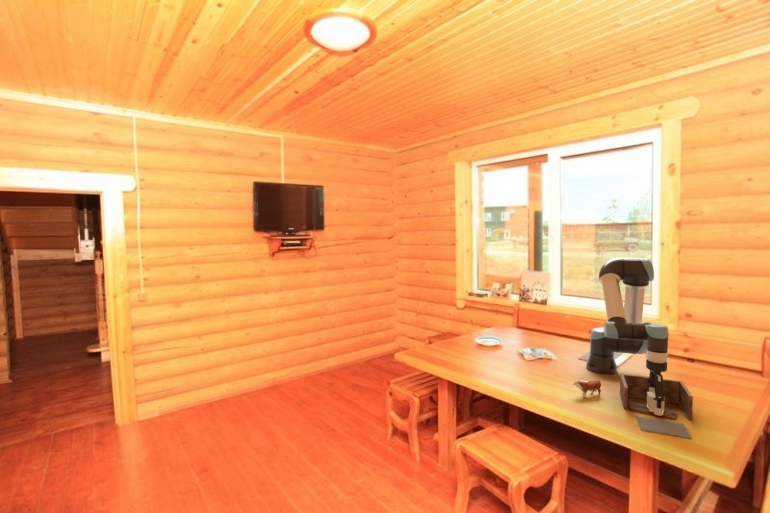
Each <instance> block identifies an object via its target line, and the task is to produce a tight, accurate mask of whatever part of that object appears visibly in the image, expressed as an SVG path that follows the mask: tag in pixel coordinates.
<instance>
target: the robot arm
mask: <svg viewBox="0 0 770 513" xmlns="http://www.w3.org/2000/svg"><path fill="white" fill-rule="evenodd" d="M598 279H599V280H598V281H599V283H600V284H601V285H602V286H601V287H602V291H603V298H604V299H603V300H604V305H605V310H606V318H607V321H604V323H603V326H602V327H600V326H599V327H596V328H592V329H591V331H590V336H589V339H590V341H589V342H590V343H589V347H590V348H589V357H588V358H587V361H586V365H585V366H586V369H587V370H588V371H591V372H593V373H597V374H604V375H613V374H616V373H617V372H618V365H617V363H616V360H615V356H614V353H620V354H628V355H629V354H631V355H643V354H644V353H645V358H646V360H645V367H646V369H648V370H649V376H648V377H649V382H648V383H649V392H653V393H655V398H653V400H655V405H654V413H653V414H654V415H655V416H661V417H663V414H662V411H663V401H664V392H663V379H664V376H663V375H662V373H663V372H664V373H665V372H667V371H668V357H670V354H669V353H668V352H669V351H668V350H669V349H668V347H669V335H670V334H669V327H668V326H667V325H664V324H661V323H651V322H643V313H644V302H645V301H644V300H645V292H646V291H645V290H646V287H648V286H650V282H652V281H654V280H655V271H654V266H653V263H652V260H650V259H649V258H643V257H615V258H614V257H613V258H611V259H609V260H608V261H606V262H605V263H603V265H602V266H601V268H600V270H599V273H598ZM621 281H622V284H623V285H624V286H625V290H624V292H625V293H624V303H623V298H622V297H623V296H622V292H621V291H622V290H621V286H620V283H621ZM658 397H661V398H658Z"/></svg>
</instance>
